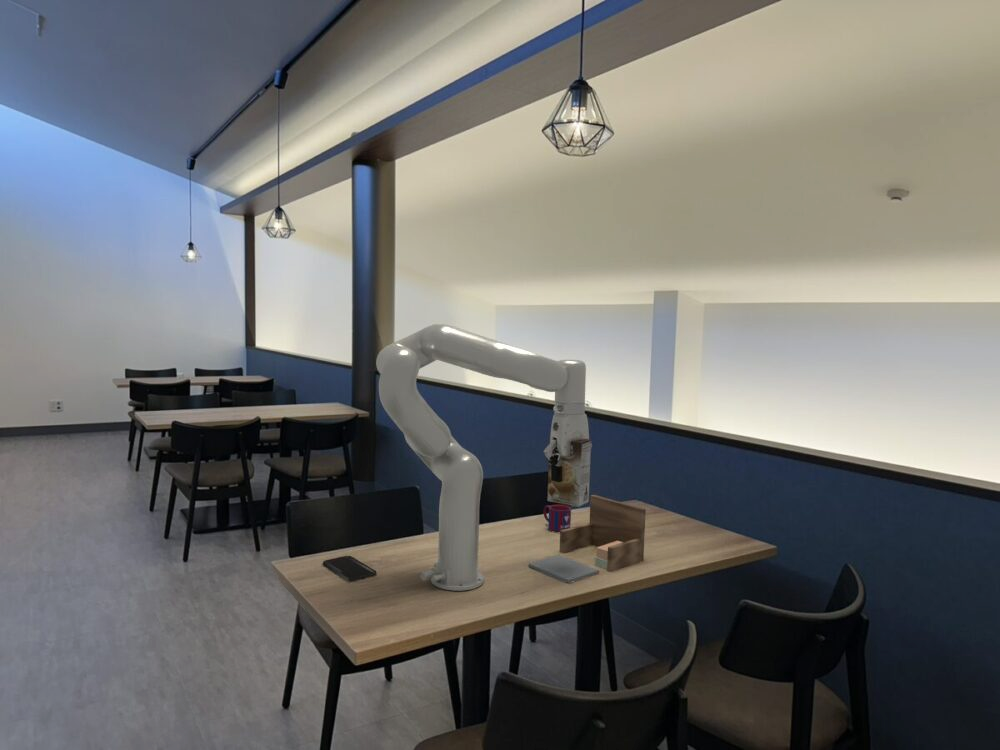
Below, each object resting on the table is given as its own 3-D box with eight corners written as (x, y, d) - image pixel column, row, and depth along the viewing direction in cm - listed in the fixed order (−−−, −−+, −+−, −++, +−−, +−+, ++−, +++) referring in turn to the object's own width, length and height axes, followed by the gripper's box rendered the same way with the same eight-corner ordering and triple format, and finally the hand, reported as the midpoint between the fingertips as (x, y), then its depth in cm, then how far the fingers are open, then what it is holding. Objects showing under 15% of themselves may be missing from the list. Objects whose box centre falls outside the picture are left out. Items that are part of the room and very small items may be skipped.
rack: (610, 571, 167) (612, 517, 166) (559, 552, 181) (561, 501, 180) (643, 560, 176) (645, 508, 175) (592, 542, 190) (594, 494, 189)
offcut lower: (607, 571, 169) (607, 561, 168) (594, 566, 171) (595, 557, 171) (629, 562, 176) (629, 552, 176) (616, 558, 179) (617, 549, 178)
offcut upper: (607, 560, 169) (607, 551, 169) (596, 556, 172) (596, 547, 171) (628, 553, 175) (628, 544, 175) (617, 549, 178) (617, 540, 178)
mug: (557, 534, 197) (558, 511, 196) (537, 525, 205) (538, 503, 204) (574, 530, 200) (575, 508, 200) (554, 522, 209) (555, 501, 208)
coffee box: (546, 501, 166) (547, 438, 165) (557, 496, 171) (559, 435, 170) (579, 507, 161) (581, 442, 160) (590, 501, 166) (592, 438, 165)
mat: (568, 583, 158) (568, 580, 158) (528, 566, 169) (528, 563, 169) (598, 573, 166) (598, 570, 166) (558, 557, 176) (558, 554, 176)
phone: (349, 555, 172) (378, 572, 160) (349, 559, 172) (378, 576, 160) (320, 561, 166) (348, 579, 155) (320, 565, 167) (348, 584, 155)
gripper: (556, 413, 156) (554, 487, 157) (604, 408, 167) (602, 477, 169) (534, 410, 162) (532, 481, 163) (581, 405, 173) (580, 471, 174)
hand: (567, 478), depth 166 cm, fingers closed on coffee box, 7 cm apart
